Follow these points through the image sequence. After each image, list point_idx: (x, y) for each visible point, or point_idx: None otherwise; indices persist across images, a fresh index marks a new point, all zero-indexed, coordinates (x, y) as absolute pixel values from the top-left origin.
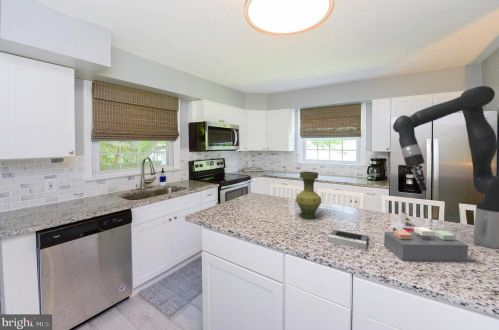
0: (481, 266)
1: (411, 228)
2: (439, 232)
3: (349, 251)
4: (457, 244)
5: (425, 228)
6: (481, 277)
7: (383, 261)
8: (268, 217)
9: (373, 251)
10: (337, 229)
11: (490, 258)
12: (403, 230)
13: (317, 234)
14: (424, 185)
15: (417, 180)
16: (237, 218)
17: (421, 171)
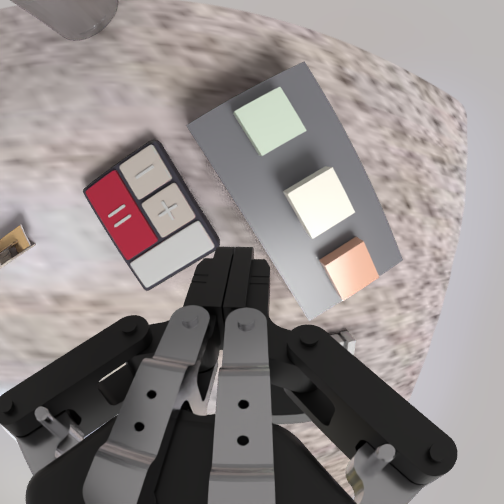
0: (302, 50)
1: (111, 228)
2: (275, 139)
3: (374, 356)
4: (317, 93)
5: (309, 196)
6: (375, 75)
7: (398, 283)
8: None
9: (351, 313)
10: None
11: (218, 13)
12: (327, 271)
13: (300, 435)
14: (267, 290)
15: (212, 386)
16: None
17: (446, 448)
